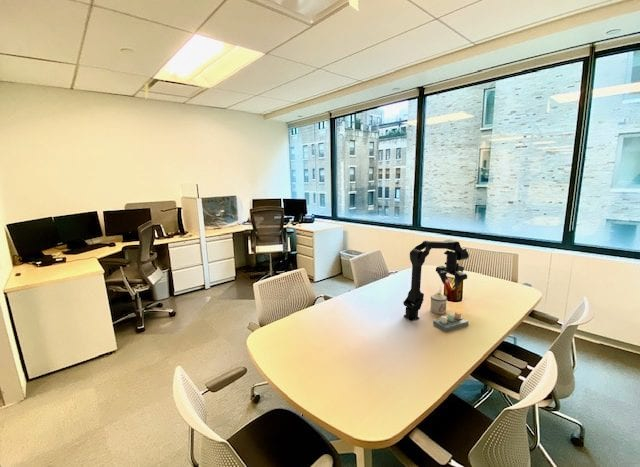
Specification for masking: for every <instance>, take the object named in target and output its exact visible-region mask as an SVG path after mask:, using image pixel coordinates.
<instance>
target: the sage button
mask: <svg viewBox="0 0 640 467" xmlns="http://www.w3.org/2000/svg"><path fill="white" fill-rule="evenodd" d="M454 315H455V314H452V313H448V314H447V316H448V320H447V321H448V322H450V323H453V322H454Z"/></svg>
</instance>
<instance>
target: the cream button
mask: <svg viewBox="0 0 640 467" xmlns="http://www.w3.org/2000/svg"><path fill="white" fill-rule="evenodd" d="M440 318H441V322H440V323H441V324H443V325H446V324H447V316H445V315H441V316H440Z"/></svg>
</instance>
